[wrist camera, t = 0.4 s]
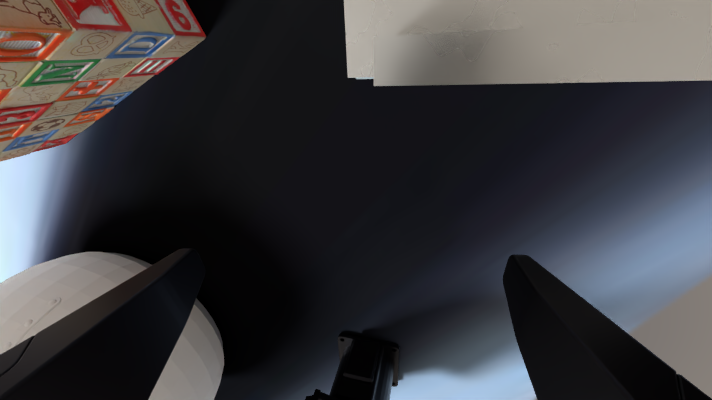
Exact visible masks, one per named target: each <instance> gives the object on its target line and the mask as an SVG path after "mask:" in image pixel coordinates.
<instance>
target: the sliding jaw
mask: <svg viewBox="0 0 712 400" xmlns="http://www.w3.org/2000/svg"><path fill="white" fill-rule="evenodd" d="M344 11H345V30H346V50H347V70H348V78H359V77H374V86H402V85H461V84H520V83H579V82H638V81H697V80H712V0H344Z"/></svg>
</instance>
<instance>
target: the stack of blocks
mask: <svg viewBox="0 0 712 400" xmlns="http://www.w3.org/2000/svg"><path fill="white" fill-rule="evenodd" d="M205 38H206V35H205V33H204V32H203V30H202V28H201V26H200V25H199V23H198V21H197V19H196V18H195V16H194V14H193V12H192V11H191V9H190V7H189V5H188V4H187V2H186V0H0V161H4V160H8V159H11V158H15V157H19V156H23V155H26V154H30V153H31V152H35V151H40V150H43V149H48V148H52V147H55V146H59V145H62V144H66V143H67V142H68V141H70V140H71V139H72V138H73V137H74V136H76V135H77V134H78V133H81V132H83V131H84V130H85V129H86V128H88V127H89V126H90V125H92V124H93V123H94V122H95V121H96V120H98V119H100V118H101V117H102V116H104V115H105V114H106V113H108V112H109V111H110V110H112V109H113V108H114V106H115V105H117V104H118V103H119V102H120V101H122V100H123V99H124V98H126V97H127V96H128V95H130V94H131V93H132V92H133V91H134V90H136V89H137V88H138V87H140V86H141V85H142V84H144V83H145V82H146V81H147V80H149V79H150V78H151V77H153V76H154V75H156V74H158V73H160V72H161V71H163V70H164V69H165V68H166V67H168V66H169V65H170V64H172V63H173V62H174V61H176V60H177V59H178V58H180V57H181V56H183V55H184V54H186V53H187V52H188V51H190V50H191V49H192V48H194V47H195V46H196V45H198V44H199V43H200V42H201V41H203V40H204V39H205Z"/></svg>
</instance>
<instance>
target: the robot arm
mask: <svg viewBox="0 0 712 400" xmlns="http://www.w3.org/2000/svg"><path fill="white" fill-rule="evenodd" d="M205 273H206V269H205V266H204V264H203V262H202V260H201V258H200V256H199V254H198V252H197V250H195V249H191V248H183V249H179V250H177V251H176V252H174V253H172V254H170V255H169V256H167V257H165V258H164V259H162V260H160V261H159V262H157V263H155V264H153V265H152V266H150V267H148V268H147V269H145V270H143V271H142V272H140V273H138V274H137V275H135V276H133V277H131V278H130V279H128V280H126V281H125V282H123V283H121V284H120V285H118V286H116V287H114V288H113V289H111V290H109V291H108V292H106V293H104V294H103V295H101V296H99V297H98V298H96V299H94V300H92V301H91V302H89V303H87V304H86V305H84V306H82V307H81V308H79V309H77V310H75V311H74V312H72V313H70V314H69V315H67V316H65V317H64V318H62V319H60V320H59V321H57V322H55V323H53V324H52V325H50V326H48V327H47V328H45V329H43V330H42V331H40V332H38V333H37V334H36V335H35V336H31V337H30V338H28V339H26V340H24V341H23V342H21V343H19V344H18V345H16V346H14V347H13V348H11V349H9V350H7V351H6V352H4V353H2V354H0V400H148V399H149V397H150V395H151V393H152V391H153V389H154V387H155V385H156V383H157V381H158V379H159V377H160V375H161V373H162V371H163V369H164V367H165V365H166V363H167V361H168V359H169V357H170V355H171V353H172V351H173V349H174V347H175V345H176V343H177V341H178V339H179V337H180V335H181V333H182V331H183V329H184V327H185V325H186V323H187V321H188V318H189V316H190V313H191V311H192V308H193V305H194V303H195V300H196V298H197V295H198V292H199V290H200V287H201V285H202V282H203V279H204V277H205ZM503 284H504V289H505V293H506V298H507V302H508V306H509V311H510V315H511V319H512V324H513V328H514V332H515V336H516V340H517V343H518V346H519V349H520V352H521V354H522V357H523V360H524V363H525V366H526V369H527V371H528V374H529V377H530V380H531V383H532V385H533V388H534V391H535V394H536V397H537V400H712V399H711V398H710V397H709V396H707V395H706V394H704V393H703V392H702V391H701V390H700V389H698V388H697V387H696V386H694V385H693V384H692V383H690V382H689V381H688V380H687V379H685V378H684V377H683V376H682V375H679V374H676V371H675V370H674V369H672V368H671V367H670V366H669V365H667V364H666V363H665V362H663V361H662V360H661V359H660V358H658V357H657V356H656V355H655V354H653V353H652V352H651V351H649V350H648V349H647V348H646V347H644V346H643V345H642V344H641V343H639V342H638V341H637V340H635V339H634V338H633V337H632V336H630V335H629V334H628V333H626V332H625V331H624V330H623V329H621V328H620V327H619V326H618V325H616V324H615V323H614V322H612V321H611V320H610V319H609V318H607V317H606V316H605V315H603V314H602V313H601V312H600V311H598V310H597V309H596V308H595V307H593V306H592V305H591V304H589V303H588V302H587V301H586V300H584V299H583V298H582V297H580V296H579V295H578V294H577V293H575V292H574V291H573V290H571V289H570V288H569V287H568V286H566V285H565V284H564V283H563V282H561V281H560V280H559V279H557V278H556V277H555V276H554V275H552V274H551V273H550V272H548V271H547V270H546V269H545V268H543V267H542V266H541V265H540V264H538V263H537V262H536V261H534V260H533V259H532V258H531V257H529V256H527V255H511V256H510V257H509V259H508V262H507V265H506V268H505V272H504V275H503ZM338 347H339V357H340V364H339V367H338V371H337V374H336V377H335V380H334V383H333V386H332V389H331V392H330V395H327V394H325V393H322V392H321V391H320V390H318V389H316V390H315V392H314V395H312V396H306V399H305V400H390V393H391V387H392V386H397V385H398V369H399V346H398V345H397V344H394V343H389V342H384V341H379V340H374V339H369V338H363V337H358V336H353V335H348V334H343V333H341V334H339V336H338Z"/></svg>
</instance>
